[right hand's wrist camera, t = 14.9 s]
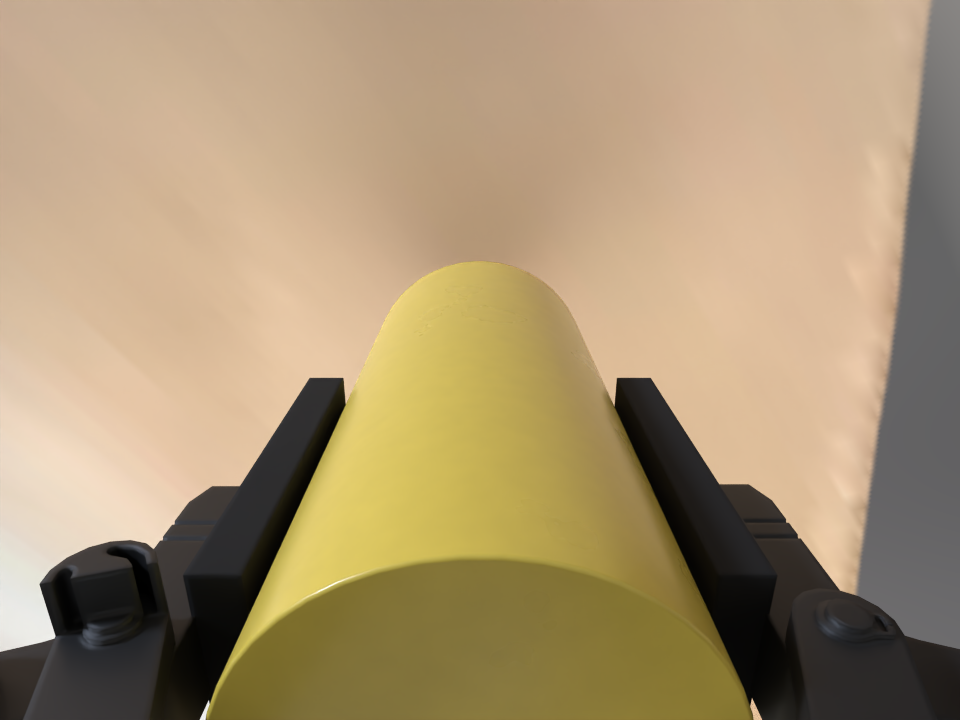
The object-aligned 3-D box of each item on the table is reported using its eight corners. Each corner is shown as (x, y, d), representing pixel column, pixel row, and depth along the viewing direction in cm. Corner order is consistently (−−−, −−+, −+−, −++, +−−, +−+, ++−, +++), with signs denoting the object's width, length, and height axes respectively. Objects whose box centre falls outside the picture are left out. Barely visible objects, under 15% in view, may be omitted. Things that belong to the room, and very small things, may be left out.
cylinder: (389, 456, 20) (258, 954, 8) (365, 267, 18) (136, 572, 6) (582, 446, 20) (734, 937, 8) (581, 254, 18) (790, 539, 6)
